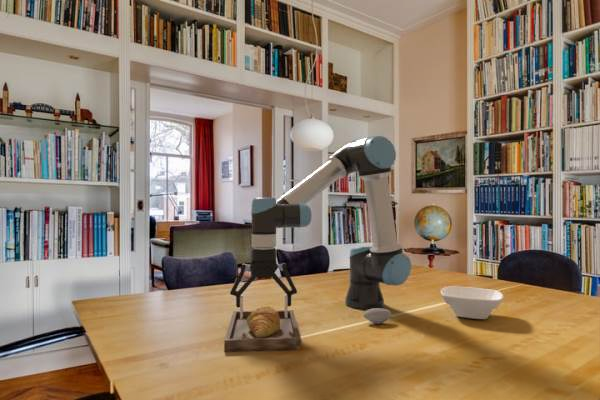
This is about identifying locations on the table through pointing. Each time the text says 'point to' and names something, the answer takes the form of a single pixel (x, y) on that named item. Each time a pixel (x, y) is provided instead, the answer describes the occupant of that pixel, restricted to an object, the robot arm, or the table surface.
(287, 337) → the tray
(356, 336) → the table surface
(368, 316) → the stone
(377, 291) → the robot arm
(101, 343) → the table surface
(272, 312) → the croissant
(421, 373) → the table surface
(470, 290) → the bowl
